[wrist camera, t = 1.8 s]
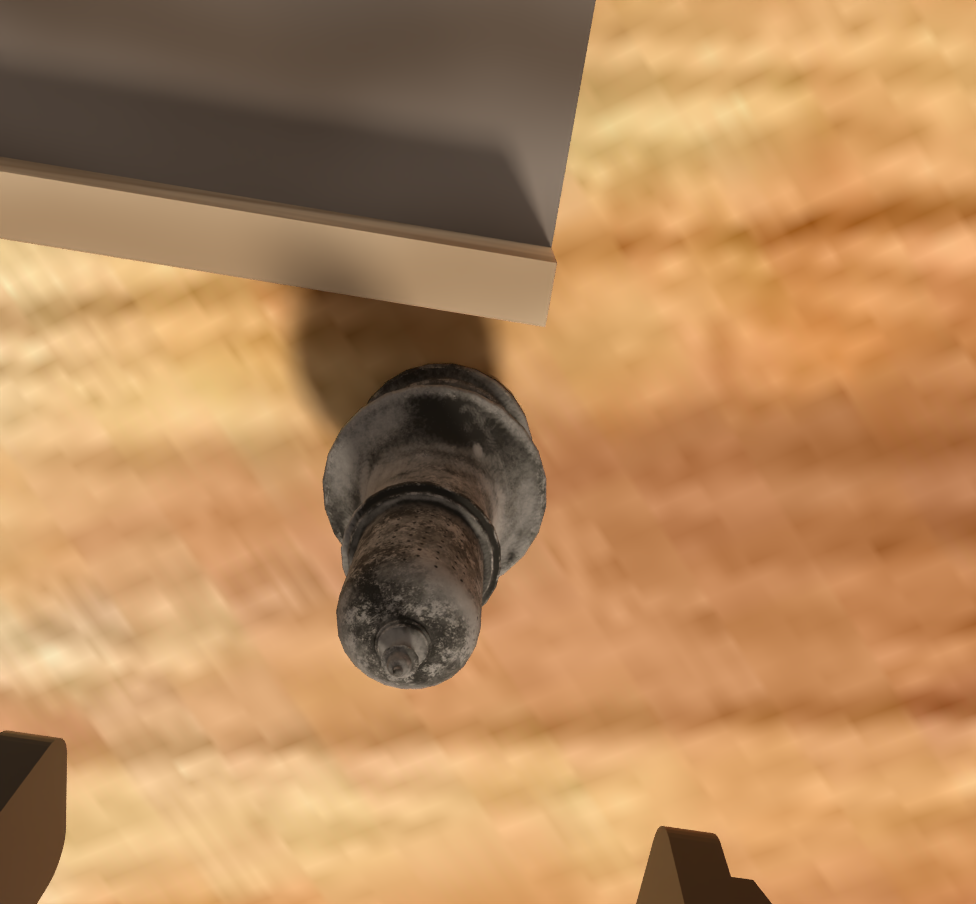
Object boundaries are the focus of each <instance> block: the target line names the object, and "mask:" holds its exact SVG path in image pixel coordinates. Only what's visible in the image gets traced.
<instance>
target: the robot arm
mask: <svg viewBox="0 0 976 904" xmlns="http://www.w3.org/2000/svg"><path fill="white" fill-rule="evenodd" d="M66 782H67V748H66V743H65V741H64V740H63V739H61V738H56V737H49V736H42V735H35V734H28V733H21V732H14V731H3V732H1V733H0V904H37V903H38V901H39V899H40V898H41V896H42V894H43V893H44V891H45V890H46V888H47V886H48V885H49V883H50V881H51V879H52V877H53V875H54V873H55V870H56V868H57V865H58V863H59V860H60V857H61V853H62V849H63V845H64V840H65V833H66ZM636 904H772V903H771V902H770V901H769V899H768V898H767V897H766V896H765V894H764V893H763V892H762V891H761V889H760V888H759V887H758V886H757V884H756V883H755V882H754V881H753V880H749V879H742V878H735V877H731V876H730V872H729V869H728V866H727V863H726V859H725V856H724V853H723V850H722V847H721V843H720V841H719V839H718V837H717V836H716V835H715V834H713V833H707V832H700V831H693V830H686V829H679V828H672V827H665V826H660V827H659V828H658V830H657V832H656V834H655V837H654V840H653V844H652V848H651V851H650V855H649V859H648V862H647V866H646V870H645V873H644V877H643V881H642V884H641V888H640V892H639V895H638V899H637V903H636Z"/></svg>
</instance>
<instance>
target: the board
mask: <svg viewBox="0 0 976 904" xmlns="http://www.w3.org/2000/svg"><path fill="white" fill-rule="evenodd" d="M595 1H596V0H0V238H1V239H7V240H13V241H19V242H25V243H31V244H37V245H44V246H50V247H56V248H62V249H68V250H74V251H81V252H87V253H93V254H99V255H105V256H111V257H117V258H124V259H130V260H136V261H142V262H148V263H154V264H160V265H167V266H173V267H179V268H185V269H191V270H197V271H204V272H210V273H216V274H222V275H228V276H234V277H240V278H247V279H253V280H259V281H265V282H271V283H277V284H283V285H290V286H296V287H302V288H308V289H314V290H320V291H327V292H333V293H339V294H345V295H351V296H357V297H363V298H370V299H376V300H382V301H388V302H394V303H400V304H406V305H413V306H419V307H425V308H431V309H437V310H443V311H450V312H456V313H462V314H468V315H474V316H480V317H486V318H493V319H499V320H505V321H511V322H517V323H523V324H529V325H536V326H542V327H545V326H546V321H547V315H548V310H549V304H550V299H551V293H552V288H553V282H554V277H555V271H556V266H557V262H556V259H555V256H554V254H553V251H552V248H551V247H552V241H553V235H554V230H555V224H556V219H557V213H558V208H559V202H560V196H561V191H562V185H563V180H564V174H565V169H566V163H567V157H568V152H569V146H570V141H571V135H572V129H573V124H574V118H575V113H576V107H577V102H578V96H579V90H580V85H581V79H582V74H583V68H584V63H585V57H586V51H587V46H588V40H589V35H590V29H591V24H592V18H593V12H594V7H595Z"/></svg>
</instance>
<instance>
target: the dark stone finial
mask: <svg viewBox="0 0 976 904" xmlns="http://www.w3.org/2000/svg"><path fill="white" fill-rule="evenodd" d="M323 492H324V505H325V510H326V513H327V516H328V518H329V521H330V524H331V526H332V529H333V532H334V534H335V536H336V537H337V538H338V540H339V541H340V543H341V544H342V547H341V554H342V565H343V570H344V573H345V575H346V579H345V582H344V584H343V587H342V590H341V593H340V596H339V601H338V606H337V610H336V614H337V626H338V636H339V639H340V641H341V644H342V646H343V649H344V651H345V653H346V654H347V656H348V657H349V658H350V660H351V661H352V662H353V664H354V665H355V666H356V667H357V668H358V669H360V670H361V671H362V672H363V673H364V674H366V675H367V676H368V677H370V678H372V679H374V680H376V681H378V682H380V683H382V684H384V685H388V686H392V687H396V688H400V689H422V688H426V687H431V686H435V685H438V684H440V683H442V682H444V681H446V680H448V679H450V678H451V677H453V676H454V675H455V674H456V673H457V672H458V671H459V670H460V669H461V668H463V667H464V665H465V664H466V662H467V660H468V659H469V657H470V656H471V654H472V652H473V650H474V648H475V647H476V644H477V640H478V636H479V633H480V627H481V610H482V606H483V605H484V604H485V603H486V602H487V601H488V599H489V597H490V596H491V594H492V593H493V591H494V589H495V588H496V585H497V582H498V578H499V576H501V575H503V574H504V573H505V572H507V571H508V570H509V569H510V568H511V567H512V566H513V565H514V564H515V563H516V562H518V561H519V560H520V559H521V558H522V557H523V556H524V555H525V553H526V552H527V550H528V548H529V547H530V545H531V544H532V542H533V541H534V539H535V537H536V536H537V534H538V533H539V529H540V526H541V522H542V519H543V516H544V512H545V509H546V476H545V472H544V469H543V465H542V462H541V458H540V455H539V451H538V450H537V448H536V446H535V445H534V443H533V441H532V437H531V434H530V430H529V427H528V423H527V420H526V416H525V415H524V413H523V411H522V410H521V408H520V406H519V405H518V403H517V402H516V400H515V398H514V397H513V396H512V395H511V394H510V393H509V392H508V391H507V390H506V389H505V388H504V387H503V386H502V385H501V384H499V383H498V382H497V381H496V380H494V379H492V378H491V377H489V376H487V375H485V374H483V373H481V372H480V371H478V370H476V369H472V368H468V367H464V366H460V365H456V364H427V365H423V366H420V367H416V368H413V369H409V370H406V371H404V372H402V373H401V374H399V375H397V376H396V377H394V378H392V379H390V380H389V381H387V382H386V383H385V384H384V385H383V386H382V387H381V388H380V389H379V390H378V391H377V392H376V393H375V394H374V395H373V396H372V397H371V398H370V400H369V402H368V404H367V405H365V406H364V407H362V408H361V409H360V410H359V411H358V412H357V413H356V414H355V415H354V416H353V417H352V418H351V419H350V420H349V421H348V422H347V423H346V424H345V425H344V427H343V428H342V429H341V431H340V433H339V434H338V436H337V438H336V440H335V442H334V444H333V446H332V448H331V450H330V451H329V453H328V457H327V462H326V467H325V472H324V477H323Z"/></svg>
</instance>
